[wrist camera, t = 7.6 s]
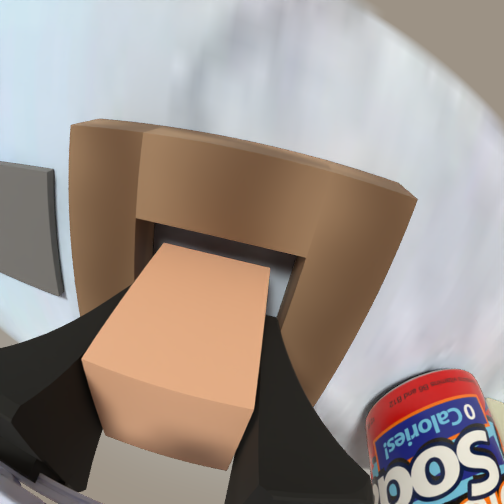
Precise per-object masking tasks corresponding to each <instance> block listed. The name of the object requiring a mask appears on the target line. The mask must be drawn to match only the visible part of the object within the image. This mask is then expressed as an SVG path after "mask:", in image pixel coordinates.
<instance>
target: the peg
mask: <svg viewBox="0 0 504 504" xmlns="http://www.w3.org/2000/svg"><path fill="white" fill-rule="evenodd" d="M269 275H270V268H268V267H264V266H260V265H256V264H251V263H247V262H243V261H239V260H234V259H230V258H226V257H222V256H217V255H213V254H209V253H205V252H201V251H196V250H192V249H188V248H184V247H180V246H176V245H172V244H167V243H163V244H162V246H161V247H160V248H159V250H158V251H157V252H156V254H155V255H154V256H153V258H152V259H151V260H150V261H149V263H148V264H147V265H146V267H145V268H144V269H143V271H142V272H141V274H140V275H139V276H138V278H137V279H136V280H135V282H134V283H133V284H132V286H131V287H130V289H129V290H128V291H127V293H126V294H125V295H124V297H123V298H122V300H121V301H120V302H119V304H118V305H117V307H116V308H115V310H114V311H113V312H112V314H111V315H110V317H109V318H108V320H107V321H106V323H105V324H104V325H103V327H102V328H101V330H100V331H99V333H98V334H97V336H96V337H95V339H94V340H93V342H92V343H91V345H90V346H89V348H88V349H87V351H86V352H85V354H84V355H83V357H82V363H83V367H84V371H85V374H86V378H87V381H88V385H89V388H90V392H91V395H92V398H93V401H94V404H95V407H96V410H97V413H98V416H99V419H100V422H101V425H102V427H103V430H104V433H105V435H106V436H108V437H111V438H114V439H116V440H119V441H122V442H125V443H127V444H130V445H133V446H136V447H139V448H141V449H145V450H148V451H151V452H154V453H157V454H160V455H164V456H167V457H171V458H174V459H178V460H182V461H185V462H189V463H193V464H198V465H202V466H206V467H211V468H215V469H221V470H225V471H227V469H228V467H229V465H230V463H231V461H232V458H233V456H234V454H235V452H236V450H237V447H238V445H239V443H240V441H241V438H242V436H243V434H244V432H245V429H246V427H247V425H248V422H249V420H250V418H251V415H252V413H253V411H254V405H255V397H256V389H257V381H258V373H259V365H260V356H261V348H262V339H263V330H264V321H265V312H266V303H267V294H268V285H269Z"/></svg>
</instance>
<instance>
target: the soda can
mask: <svg viewBox="0 0 504 504" xmlns="http://www.w3.org/2000/svg"><path fill="white" fill-rule="evenodd" d="M365 428H366V438H367V446H368V454H369V463H370V472H371V482H372V488H373V495H374V504H504V447H503V444H502V441H501V438H500V436H499V433H498V430H497V427H496V425H495V422H494V420H493V417H492V415H491V412H490V410H489V407H488V405H487V402H486V400H485V398H484V395H483V393H482V391H481V389H480V386H479V384H478V382H477V380H476V379H475V377H474V376H473V375H472V374H471V373H469V372H467V371H465V370H461V369H441V370H436V371H432V372H428V373H425V374H422V375H419V376H417V377H414V378H412V379H410V380H408V381H406V382H404V383H402V384H400V385H398V386H397V387H395V388H394V389H392V390H391V391H389V392H388V393H387V394H385V395H384V396H383V397H382V398H381V399H380V400H378V401H377V402H376V403H375V405H374V406H373V407H372V408H371V410H370V411H369V413H368V415H367V418H366V424H365Z"/></svg>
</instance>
